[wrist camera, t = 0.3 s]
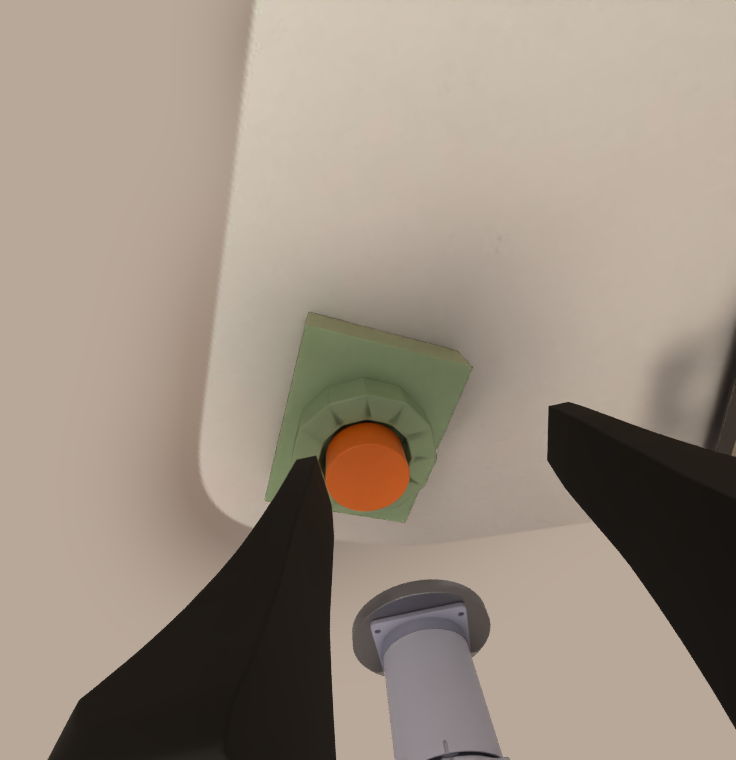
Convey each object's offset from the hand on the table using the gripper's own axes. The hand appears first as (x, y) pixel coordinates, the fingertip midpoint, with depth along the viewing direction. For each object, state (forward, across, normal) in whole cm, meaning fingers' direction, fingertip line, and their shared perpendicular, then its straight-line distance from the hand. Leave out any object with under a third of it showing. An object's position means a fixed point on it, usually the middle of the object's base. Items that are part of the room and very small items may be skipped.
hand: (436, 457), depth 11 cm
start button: (+5, +2, +3) cm, 6 cm away
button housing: (+9, +2, +3) cm, 9 cm away
